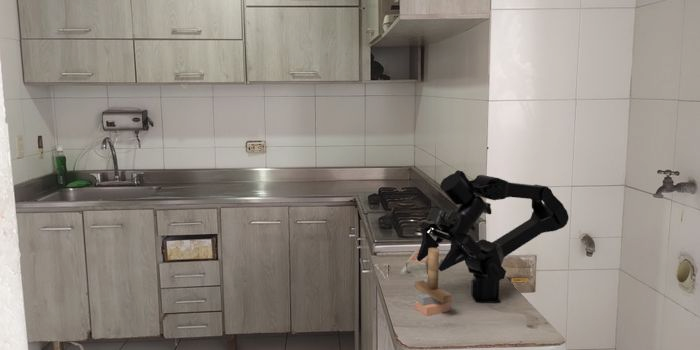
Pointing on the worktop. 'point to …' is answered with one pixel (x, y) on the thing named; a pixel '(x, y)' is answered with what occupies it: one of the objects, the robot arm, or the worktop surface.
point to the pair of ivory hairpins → (381, 271)
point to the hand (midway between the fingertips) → (428, 265)
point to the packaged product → (416, 266)
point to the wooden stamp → (433, 279)
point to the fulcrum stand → (430, 305)
